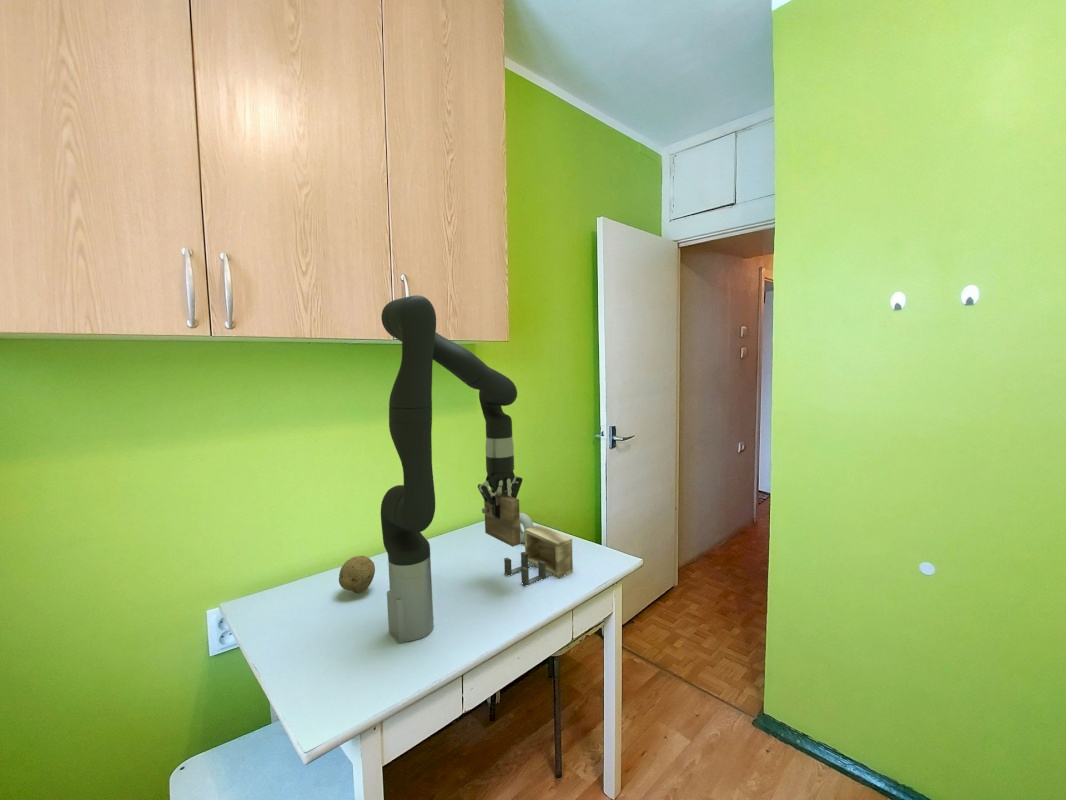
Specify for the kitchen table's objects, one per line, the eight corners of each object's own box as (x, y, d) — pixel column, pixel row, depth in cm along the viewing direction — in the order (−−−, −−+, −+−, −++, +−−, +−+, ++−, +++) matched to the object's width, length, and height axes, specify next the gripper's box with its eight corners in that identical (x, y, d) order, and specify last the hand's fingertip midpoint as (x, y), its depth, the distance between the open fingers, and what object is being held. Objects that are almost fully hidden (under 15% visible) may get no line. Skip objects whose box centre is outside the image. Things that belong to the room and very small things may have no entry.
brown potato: (354, 605, 117) (351, 567, 117) (332, 596, 122) (330, 560, 121) (382, 589, 125) (380, 554, 124) (361, 582, 130) (359, 547, 129)
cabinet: (531, 589, 123) (530, 553, 122) (499, 570, 135) (498, 537, 134) (572, 572, 132) (572, 538, 132) (539, 556, 144) (538, 524, 143)
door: (508, 548, 119) (506, 502, 118) (481, 534, 129) (479, 492, 128) (520, 544, 121) (519, 499, 120) (492, 530, 131) (491, 489, 130)
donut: (536, 544, 153) (536, 515, 153) (529, 547, 151) (528, 517, 150) (516, 536, 160) (515, 508, 160) (509, 539, 158) (508, 511, 157)
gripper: (485, 459, 116) (487, 526, 118) (528, 451, 125) (530, 514, 126) (469, 455, 122) (472, 519, 124) (512, 448, 131) (514, 508, 132)
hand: (501, 516), depth 125 cm, fingers closed on door, 2 cm apart
